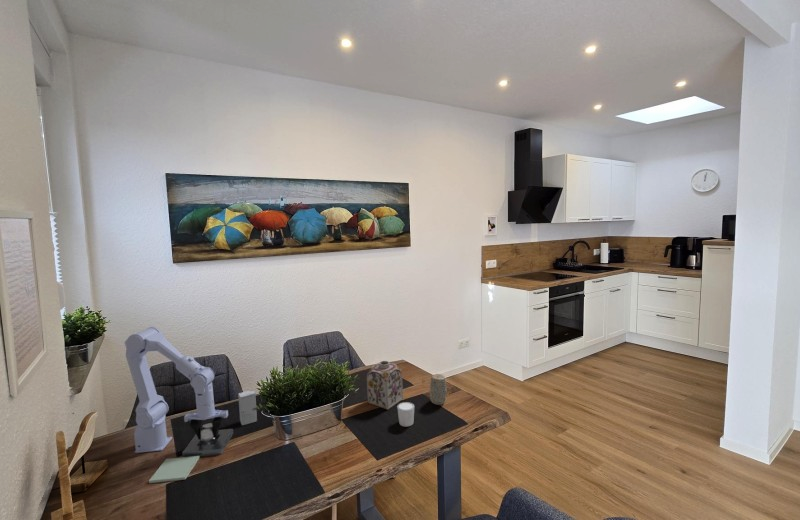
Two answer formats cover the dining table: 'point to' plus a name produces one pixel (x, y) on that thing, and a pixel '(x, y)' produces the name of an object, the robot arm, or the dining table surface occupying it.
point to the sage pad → (174, 469)
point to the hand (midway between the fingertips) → (208, 437)
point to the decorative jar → (384, 385)
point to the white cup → (406, 413)
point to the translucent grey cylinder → (207, 434)
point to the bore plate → (205, 450)
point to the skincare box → (247, 407)
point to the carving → (438, 389)
